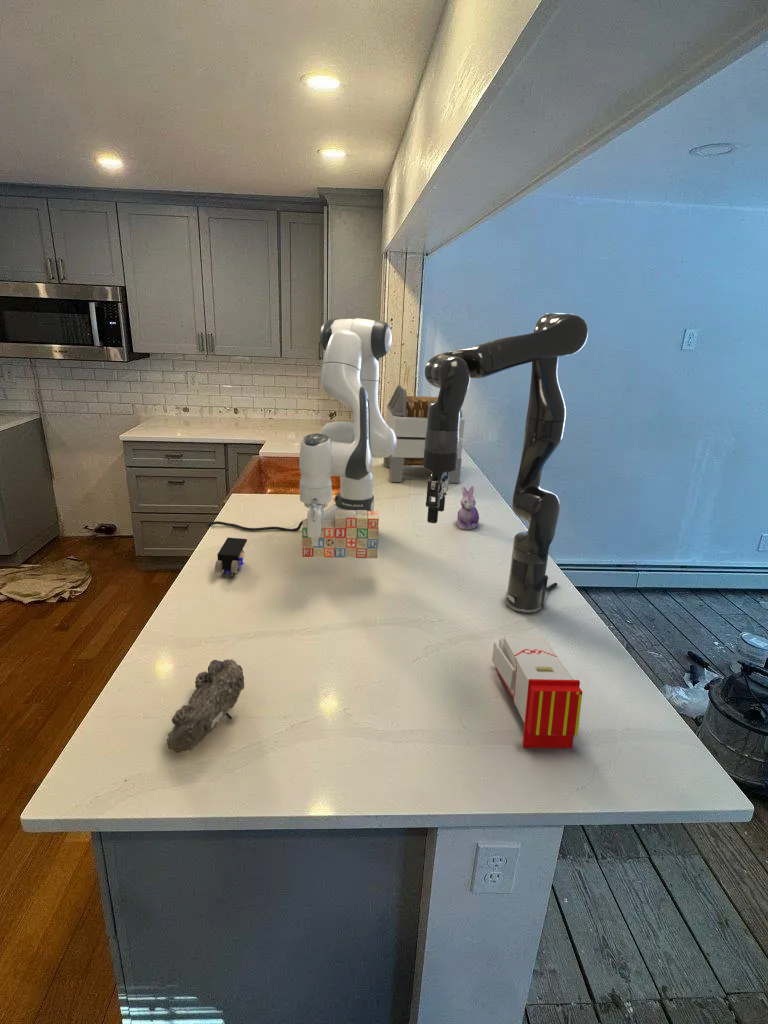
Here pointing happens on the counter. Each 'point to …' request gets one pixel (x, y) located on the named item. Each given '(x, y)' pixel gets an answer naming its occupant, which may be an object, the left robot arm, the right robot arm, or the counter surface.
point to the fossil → (206, 705)
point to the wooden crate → (412, 433)
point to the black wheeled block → (230, 556)
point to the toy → (539, 691)
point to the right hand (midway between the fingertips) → (435, 516)
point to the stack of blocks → (345, 536)
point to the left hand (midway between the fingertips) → (315, 539)
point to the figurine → (468, 510)
